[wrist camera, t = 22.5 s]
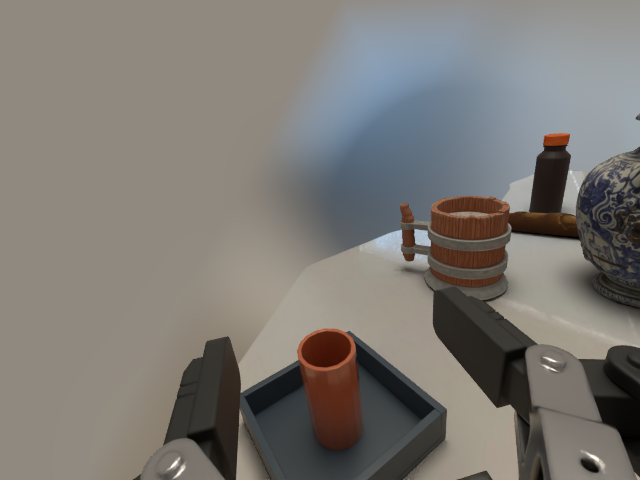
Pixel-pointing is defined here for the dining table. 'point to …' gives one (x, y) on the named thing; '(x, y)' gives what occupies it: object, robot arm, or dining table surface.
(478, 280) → the mug
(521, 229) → the bread
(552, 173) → the vinegar
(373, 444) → the tray
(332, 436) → the tumbler
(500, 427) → the dining table surface
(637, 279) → the decorative vase
